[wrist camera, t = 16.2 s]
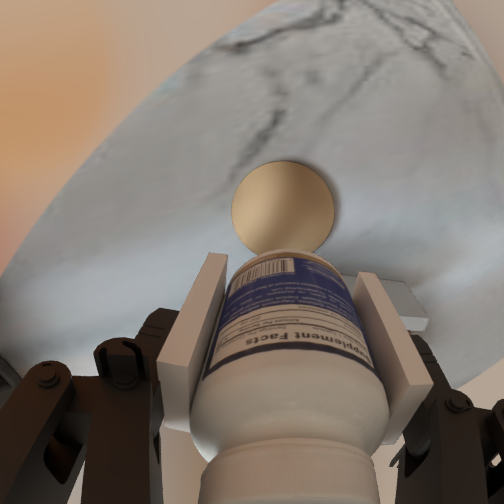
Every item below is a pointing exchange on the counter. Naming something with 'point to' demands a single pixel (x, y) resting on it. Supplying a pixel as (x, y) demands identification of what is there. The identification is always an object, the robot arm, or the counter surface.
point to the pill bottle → (288, 390)
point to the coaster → (282, 208)
